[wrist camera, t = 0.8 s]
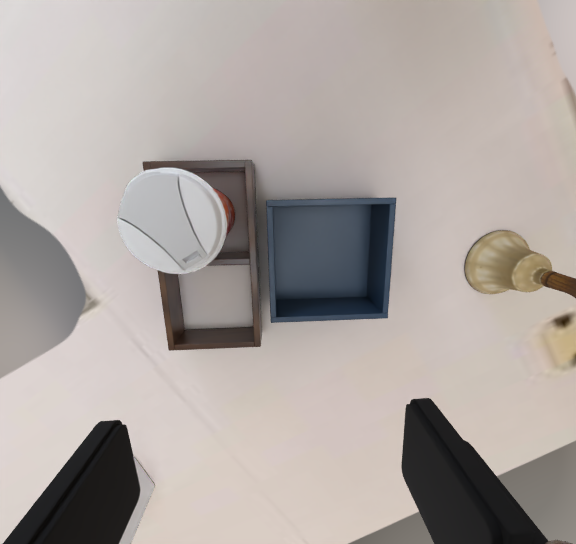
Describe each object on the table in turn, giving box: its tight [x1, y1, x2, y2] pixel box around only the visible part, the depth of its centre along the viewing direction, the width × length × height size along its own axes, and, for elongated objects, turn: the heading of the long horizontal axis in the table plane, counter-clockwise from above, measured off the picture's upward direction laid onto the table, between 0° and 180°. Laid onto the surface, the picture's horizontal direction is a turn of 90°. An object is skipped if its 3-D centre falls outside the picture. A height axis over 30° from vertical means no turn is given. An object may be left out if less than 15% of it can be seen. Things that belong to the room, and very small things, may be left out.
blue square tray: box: [266, 198, 396, 323], centre depth 32 cm, size 13×13×6 cm
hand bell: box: [465, 231, 576, 298], centre depth 28 cm, size 8×8×16 cm
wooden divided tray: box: [143, 160, 262, 350], centre depth 32 cm, size 20×11×4 cm, turn 1°
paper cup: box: [117, 168, 235, 274], centre depth 26 cm, size 8×8×14 cm
